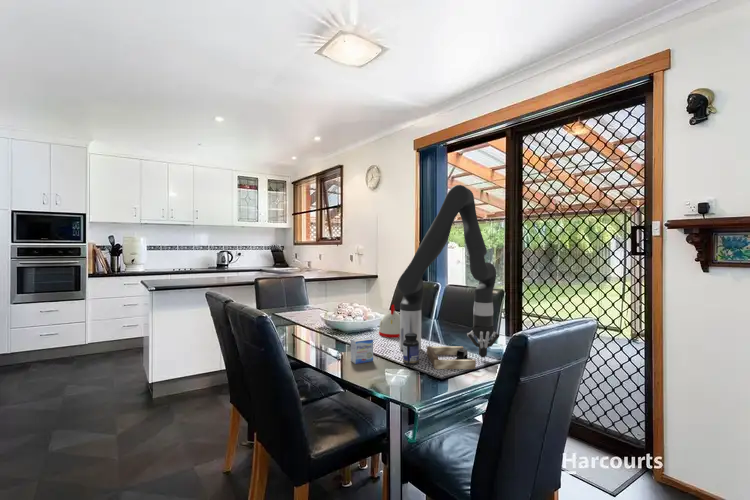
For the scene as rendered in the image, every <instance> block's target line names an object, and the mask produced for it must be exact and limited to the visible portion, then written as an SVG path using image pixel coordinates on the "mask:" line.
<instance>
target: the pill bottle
mask: <svg viewBox="0 0 750 500" xmlns="http://www.w3.org/2000/svg"><path fill="white" fill-rule="evenodd" d="M405 338H406V340H404V341H403V350H402V354H403V356H402V358H403V359H402V361H403V363H404V364H405V365H409V366H411V365H412V366H413V365H417V364H419V363H420V350H419V342H418V340H416V338H417V334H415V333H406V334H405Z"/></svg>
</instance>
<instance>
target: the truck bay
mask: <svg viewBox="0 0 750 500" xmlns="http://www.w3.org/2000/svg"><path fill="white" fill-rule="evenodd" d="M459 349H464V346H462V345H461V346H460V345H459V346H456V345H455V346H441V345H440V346H439V345H438V346H426V355H427V357H428V359H429V360H430V362H431V365H432V366H433V368H434V370H473V369H474V370H476V364H477V363H476V360H475V359H472V360H455V359H439V357H438V356H437V355H439V356H445V355H449V356H451V355H452V356H453V355H455V356H457V351H458V350H459Z"/></svg>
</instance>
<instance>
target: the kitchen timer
mask: <svg viewBox="0 0 750 500" xmlns="http://www.w3.org/2000/svg"><path fill="white" fill-rule="evenodd" d="M390 307H391V308H390V310H389V311H388V312H387V313H385V315H384V316H383V317H382V319H381V320H380V321H379V329H378V330H379V332H378V334H379V336H380V337H383V338H389V339H390V338H393V339H394V338H395V339H396V338H399V337H400V312H397V311H396V309H395V304H391V306H390Z"/></svg>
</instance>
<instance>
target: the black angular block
mask: <svg viewBox="0 0 750 500" xmlns="http://www.w3.org/2000/svg"><path fill="white" fill-rule="evenodd" d="M454 360H473V358H472V357H468V349H464V348H463V349H459V350H458V351H457V355H456V358H455V359H454Z"/></svg>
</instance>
